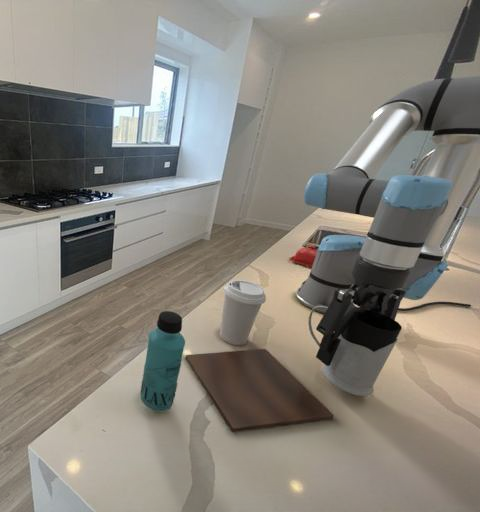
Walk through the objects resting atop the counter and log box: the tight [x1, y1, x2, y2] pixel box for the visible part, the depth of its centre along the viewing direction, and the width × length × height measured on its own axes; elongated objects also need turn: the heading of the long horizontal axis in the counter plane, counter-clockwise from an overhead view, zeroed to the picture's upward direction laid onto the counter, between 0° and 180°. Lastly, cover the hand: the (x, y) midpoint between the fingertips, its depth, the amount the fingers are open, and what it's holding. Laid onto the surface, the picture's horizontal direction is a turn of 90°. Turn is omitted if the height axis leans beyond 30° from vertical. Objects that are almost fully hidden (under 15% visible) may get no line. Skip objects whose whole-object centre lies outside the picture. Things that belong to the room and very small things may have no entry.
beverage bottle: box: [139, 310, 186, 412], centre depth 54 cm, size 6×7×20 cm
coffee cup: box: [219, 279, 267, 346], centre depth 76 cm, size 10×10×15 cm
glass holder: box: [307, 306, 403, 397], centre depth 62 cm, size 9×14×15 cm, turn 39°
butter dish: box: [288, 244, 318, 268], centre depth 129 cm, size 12×12×8 cm
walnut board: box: [184, 348, 335, 433], centre depth 63 cm, size 21×19×1 cm
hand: (340, 359), depth 64 cm, fingers closed on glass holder, 8 cm apart
